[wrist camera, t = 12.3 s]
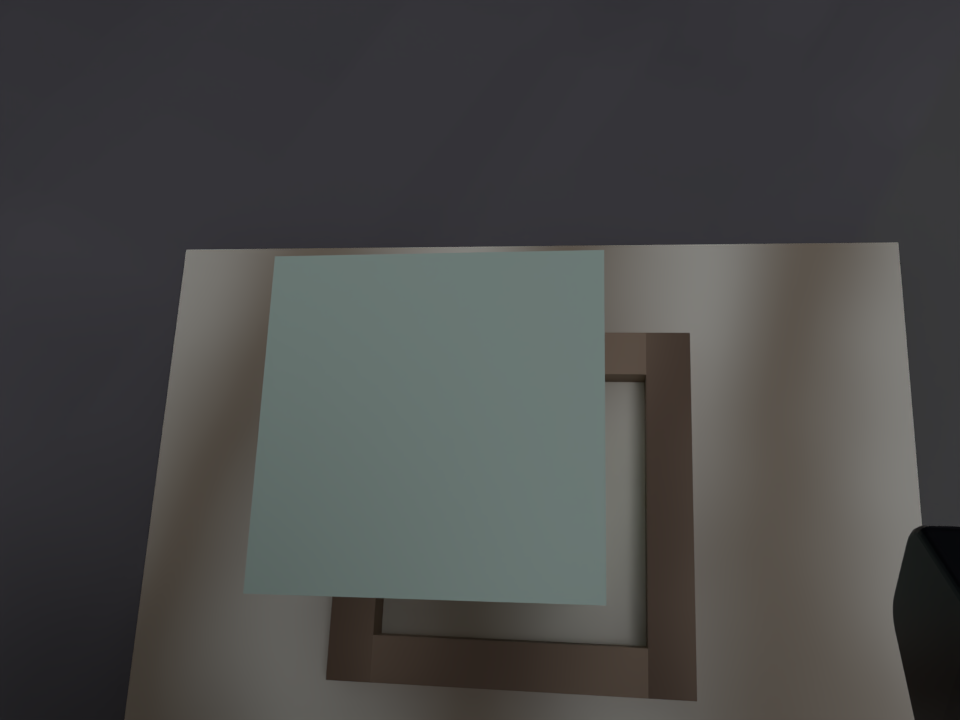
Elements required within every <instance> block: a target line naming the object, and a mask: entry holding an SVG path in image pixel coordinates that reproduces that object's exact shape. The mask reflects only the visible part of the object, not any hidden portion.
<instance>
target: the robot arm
mask: <svg viewBox="0 0 960 720" xmlns="http://www.w3.org/2000/svg"><path fill="white" fill-rule="evenodd" d="M893 622H894V628H895V633H896V638H897V642H898V647H899V651H900V656H901V660H902V665H903V670H904V674H905V679H906V683H907V688H908V692H909V697H910V701H911V706H912V711H913V715H914V720H960V527H953V526H919V527H917V528H915V529H913V530H912V532H911V533H910V535H909V537H908V540H907V543H906V547H905V552H904V556H903V560H902V564H901V568H900V572H899V577H898V581H897V585H896V589H895V593H894V598H893Z"/></svg>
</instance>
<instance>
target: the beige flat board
mask: <svg viewBox="0 0 960 720" xmlns="http://www.w3.org/2000/svg"><path fill="white" fill-rule="evenodd" d="M576 250H604V313H605V478H606V606H605V605H575V604H545V603H514V602H484V601H454V600H423V599H393V598H363V597H332V596H302V595H272V594H243V590H244V580H245V569H246V559H247V548H248V537H249V527H250V516H251V505H252V495H253V484H254V474H255V463H256V452H257V442H258V431H259V420H260V410H261V399H262V389H263V378H264V367H265V357H266V346H267V335H268V325H269V314H270V304H271V293H272V282H273V272H274V261H275V256H320V255H371V254H422V253H473V252H525V251H576ZM919 526H922V520H921V508H920V496H919V484H918V472H917V460H916V449H915V437H914V425H913V413H912V401H911V389H910V377H909V365H908V353H907V341H906V329H905V317H904V305H903V293H902V281H901V269H900V257H899V246H898V243H804V244H706V245H608V246H510V247H412V248H313V249H215V250H186V257H185V264H184V272H183V279H182V287H181V295H180V302H179V310H178V317H177V325H176V332H175V340H174V347H173V355H172V363H171V370H170V378H169V385H168V393H167V400H166V408H165V416H164V423H163V431H162V438H161V446H160V453H159V461H158V468H157V476H156V484H155V491H154V499H153V506H152V514H151V521H150V529H149V537H148V544H147V552H146V559H145V567H144V574H143V582H142V589H141V597H140V605H139V612H138V620H137V627H136V635H135V642H134V650H133V658H132V665H131V673H130V680H129V688H128V695H127V703H126V710H125V718H124V720H914V715H913V711H912V706H911V701H910V697H909V692H908V688H907V683H906V679H905V674H904V670H903V665H902V660H901V656H900V651H899V647H898V642H897V638H896V633H895V628H894V622H893V598H894V593H895V589H896V585H897V581H898V577H899V572H900V568H901V564H902V560H903V556H904V552H905V547H906V543H907V540H908V537H909V535H910V533H911V532H912V530H913V529H915V528H917V527H919Z"/></svg>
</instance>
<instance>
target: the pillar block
mask: <svg viewBox="0 0 960 720" xmlns="http://www.w3.org/2000/svg"><path fill="white" fill-rule="evenodd" d="M243 594H272V595H302V596H332V597H363V598H393V599H423V600H454V601H484V602H514V603H545V604H575V605H605V606H606V478H605V313H604V250H576V251H525V252H473V253H422V254H371V255H320V256H275V261H274V272H273V282H272V293H271V304H270V314H269V325H268V335H267V346H266V357H265V367H264V378H263V389H262V399H261V410H260V420H259V431H258V442H257V452H256V463H255V474H254V484H253V495H252V505H251V516H250V527H249V537H248V548H247V559H246V569H245V580H244V590H243Z"/></svg>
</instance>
